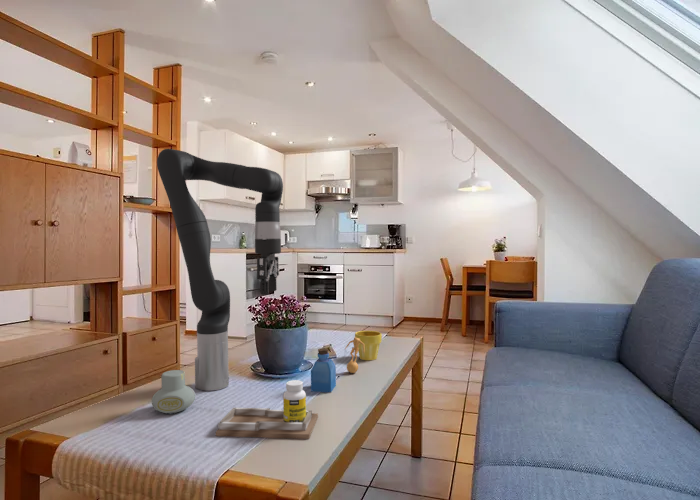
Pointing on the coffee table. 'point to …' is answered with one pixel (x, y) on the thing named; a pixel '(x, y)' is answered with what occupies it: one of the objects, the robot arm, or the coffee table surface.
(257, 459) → the coffee table surface
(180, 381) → the air freshener
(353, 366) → the figurine
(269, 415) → the brown rectangular tray
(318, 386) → the perfume bottle
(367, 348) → the plant pot
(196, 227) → the robot arm
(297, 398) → the supplement bottle
